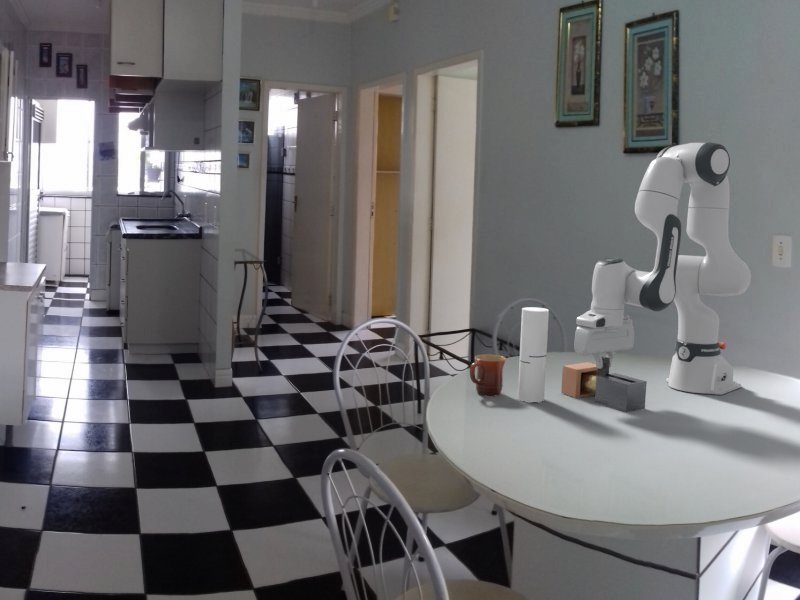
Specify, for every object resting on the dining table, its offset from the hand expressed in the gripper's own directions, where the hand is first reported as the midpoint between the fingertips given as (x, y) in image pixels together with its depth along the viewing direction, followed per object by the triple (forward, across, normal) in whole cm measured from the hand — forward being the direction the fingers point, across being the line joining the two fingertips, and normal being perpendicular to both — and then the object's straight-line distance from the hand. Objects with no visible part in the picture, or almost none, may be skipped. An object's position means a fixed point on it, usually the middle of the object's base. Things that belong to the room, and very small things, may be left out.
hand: (603, 367), depth 220 cm
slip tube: (+8, 0, -3) cm, 8 cm away
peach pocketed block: (+9, 0, -8) cm, 12 cm away
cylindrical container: (+9, +17, -10) cm, 22 cm away
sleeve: (+9, 0, +6) cm, 11 cm away
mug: (+9, +25, -20) cm, 33 cm away
